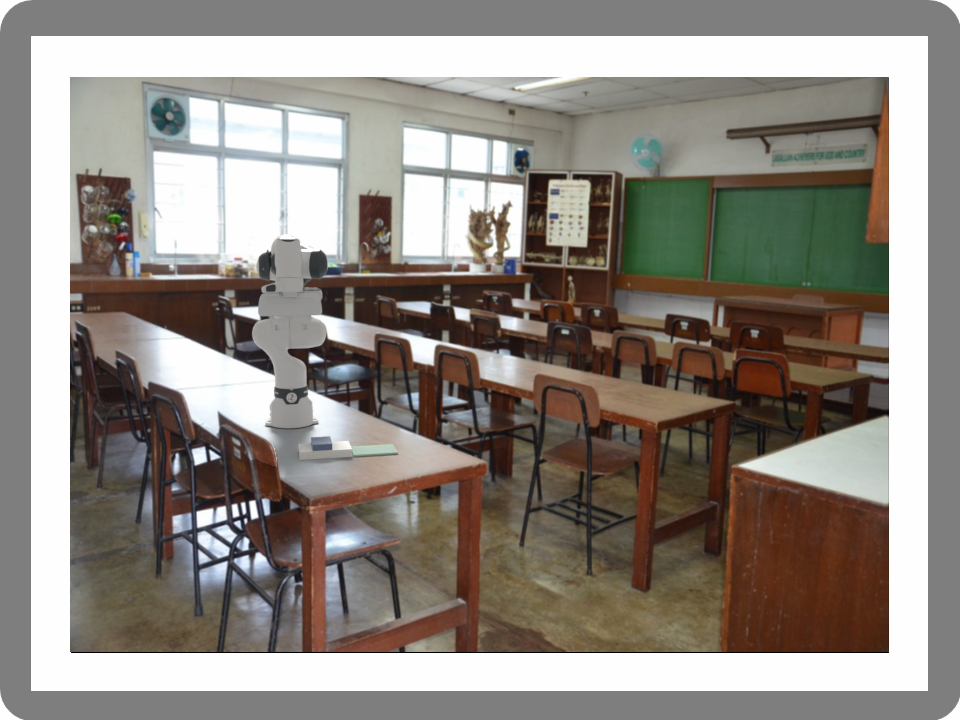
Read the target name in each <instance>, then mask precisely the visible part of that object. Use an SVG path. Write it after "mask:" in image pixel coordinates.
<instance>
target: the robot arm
mask: <svg viewBox="0 0 960 720" xmlns="http://www.w3.org/2000/svg"><path fill="white" fill-rule="evenodd" d="M255 266H256V268H255V269H256V272H257V274H258V276H259V278H260V279H261V280H263V281H268V282H269V281H274V282H271V283H270V282H269V284H265V285H262V286H261V293H262V294H261V295H260V297H259V299H258V308H257V314H258V316H260V317H269V318H265V319H261V320H258V321H256V322H255V324H254V325H253V327H252V332H251V337H252V341H253V342H254V344H255V345H256V346H257V347H258V348H259V349H261V350H262V351H263V352H264V353H265V354H266V355H268V357H269V359H270V361H271V363H272V365H273V372H274V373H273V374H274V382H275V384H274V385H275V386H274V387H273V393H274V395H273V396H274V399H273V400H272V401H271V402H270V404H269V411H270V413H269V418H268V419H267V420H266V421H265V424H264V425H265V427H266V426H267V427H274V428H279V429H299V428H305V427H309V426H311V425H315V424H318V423H319V420H318V418H316V417H315V416H314V411H313V410H314V409H313V407H314V406H313V401H312V400H311V399H310V398H309V387H308V386H309V385H308V384H307V366H306V364H305V362H304V361H303V360H301V359H299V358H297V357H295V356H292V355H291V354H290V353H289V351H288V350H289V349H310V348H316V347H320V346H321V345H323V344H324V342H325V340H326V339H327V338H326V337H327V328H326V326H325V324H324V322H322V320H321V319H318V318H315V317H314V316H321V315H322V314H323V306H322V300H323V291H322V289H321V288H318V286H317V287H316V286H313V287H310V286H306V285H307V283H309V282H310V281H312V280H321V279H323V277H325V276H326V275H327V273H328V268H329V261H328V258H327V255H326V253H325V252H324V251H323V250H322V249H320V248H318V249H317V248H314V247H312V246H311V245H307V244H306V243H303V242H301V240H300V239H299V238H297V237H294V236H292V235H291V234H280V235H279V236H277V237H276V238H275V239H273V242H272V244H271V247H270V251H269V249H267V250H266V252H263V253H261V254H260V255H259V256H258V259H257V261H256V265H255Z"/></svg>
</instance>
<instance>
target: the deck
mask: <svg viewBox="0 0 960 720" xmlns="http://www.w3.org/2000/svg"><path fill="white" fill-rule="evenodd" d="M297 446H298V458H299V461H305V460H308V461H309V460H319V459H320V460H324V459H340V458H341V459H342V458H352V457H353V454H352V448H351V446H352V445H351V443H350V441H349V440H341V441H332V450H322V451H313V450H312V445H311V442H305V443H298V445H297Z"/></svg>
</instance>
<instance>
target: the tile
mask: <svg viewBox="0 0 960 720" xmlns="http://www.w3.org/2000/svg"><path fill="white" fill-rule="evenodd" d="M332 442H333V441H332V438H331V436H330V435H329V436H312V437H310V443H311V445H312V450H313V451H322V450H332Z"/></svg>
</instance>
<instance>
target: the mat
mask: <svg viewBox="0 0 960 720" xmlns="http://www.w3.org/2000/svg"><path fill="white" fill-rule="evenodd" d="M350 446H351V448H352V457H353V458H355V457H356V458H357V457H375V456H376V457H377V456H390V455H391V456H392V455H398V454H399V452H398V450H397V449H396V447H395V445H394V444H393V443H390V444H389V443H388V444H373V445H372V444H371V445H356V446H355V445H353V446H352V445H350Z"/></svg>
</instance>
